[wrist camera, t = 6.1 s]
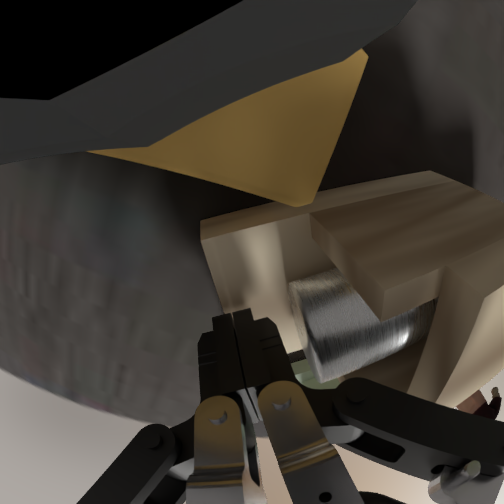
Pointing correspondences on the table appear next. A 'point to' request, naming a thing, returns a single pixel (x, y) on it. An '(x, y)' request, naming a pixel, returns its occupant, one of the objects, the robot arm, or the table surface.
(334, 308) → the axle
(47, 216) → the table surface
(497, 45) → the table surface
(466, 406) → the grandmother figurine
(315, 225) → the beige block
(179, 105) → the rubber stamp
